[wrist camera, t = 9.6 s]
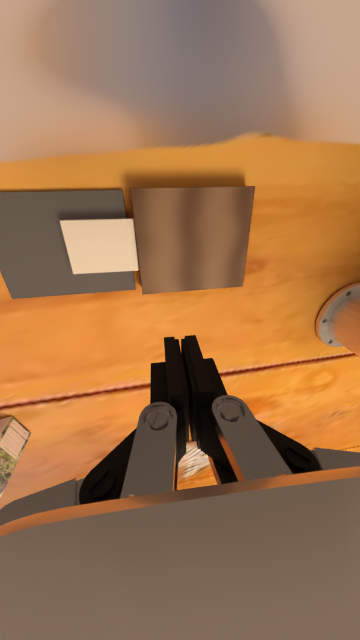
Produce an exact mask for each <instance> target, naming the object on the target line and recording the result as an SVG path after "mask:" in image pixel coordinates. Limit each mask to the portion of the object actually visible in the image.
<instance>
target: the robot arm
mask: <svg viewBox="0 0 360 640" xmlns="http://www.w3.org/2000/svg"><path fill="white" fill-rule="evenodd" d="M316 333H317V336H318V338H319V339H320V340H321V341H322V342H324V343H325V344H327V345H329V346H332V347H341V346H345V347H346V348H348V349H349V350H350V351H352V352H353V353H355V354H356V355H358V356H359V357H360V282H358V283H354V284H351V285H349V286H347V287H345V288H343V289H341V290H340V291H338V292H337V293H336V294H334V295H333V296H332V297H331V298H330V299H329V300H328V301H327V302H326V304H325V305H324V306H323V308H322V309H321V311H320V313H319V315H318V318H317V321H316ZM164 345H165V362H160V363H151V400H150V404H149V405H148V406H146V407H145V408H144V409H143V411H142V412H141V414H140V417H139V421H138V425H137V428H136V429H135V430H134V431H133V432H132V433H131V434H130V435H128V436H127V437H126V438H125V439H124V440H123V441H122V442H121V443H120V444H119V445H118V446H117V447H116V448H115V449H114V450H113V451H111V452H110V453H109V454H108V455H107V456H106V457H105V458H104V459H103V460H102V461H101V462H100V463H99V464H98V465H97V466H96V467H94V468H93V469H92V470H91V471H90V472H89V474H88V475H87V476H86V477H85V478H83V479H80V480H78V481H77V480H76V478H75V479H72V480H69V481H66V482H64V483H61V484H58V485H56V486H53V487H50V488H47V489H45V490H42V491H39V492H36V493H34V494H31V495H28V496H26V497H23V498H20V499H17V500H15V501H13V502H11V503H9V504H7V505H5V506H4V507H3V508H2V509H1V510H0V640H360V453H359V452H350V451H341V450H332V449H323V448H313V450H309V449H308V448H306V447H305V446H303V445H302V444H300V443H298V442H296V441H294V440H293V439H291V438H289V437H287V436H285V435H283V434H282V433H280V432H278V431H276V430H274V429H273V428H271V427H269V426H267V425H265V424H263V423H262V422H260V421H258V420H256V418H255V417H254V415H253V414H252V412H251V411H250V409H249V408H248V406H247V405H246V404H245V403H244V402H243V401H242V400H241V399H239V398H237V397H235V396H231V395H227V392H226V390H225V387H224V385H223V382H222V380H221V377H220V375H219V373H218V370H217V368H216V365H215V363H214V360H213V359H212V358H207V359H203V356H202V353H201V350H200V347H199V344H198V341H197V338H196V336H195V335H192V336H185V339H181V350H180V345H179V340H178V339H174V337H164ZM189 426H190V432H191V438H192V441H197V447H198V449H201V451H203V452H204V453H205V454H207V455H208V458H209V462H210V465H211V468H212V470H213V473H214V476H215V478H216V481H217V484H218V485H212V486H205V487H198V488H191V489H183V490H178V469H179V463H178V462H179V461H180V460H181V458H182V457H183V456H184V454H185V453H186V442H189Z"/></svg>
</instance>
